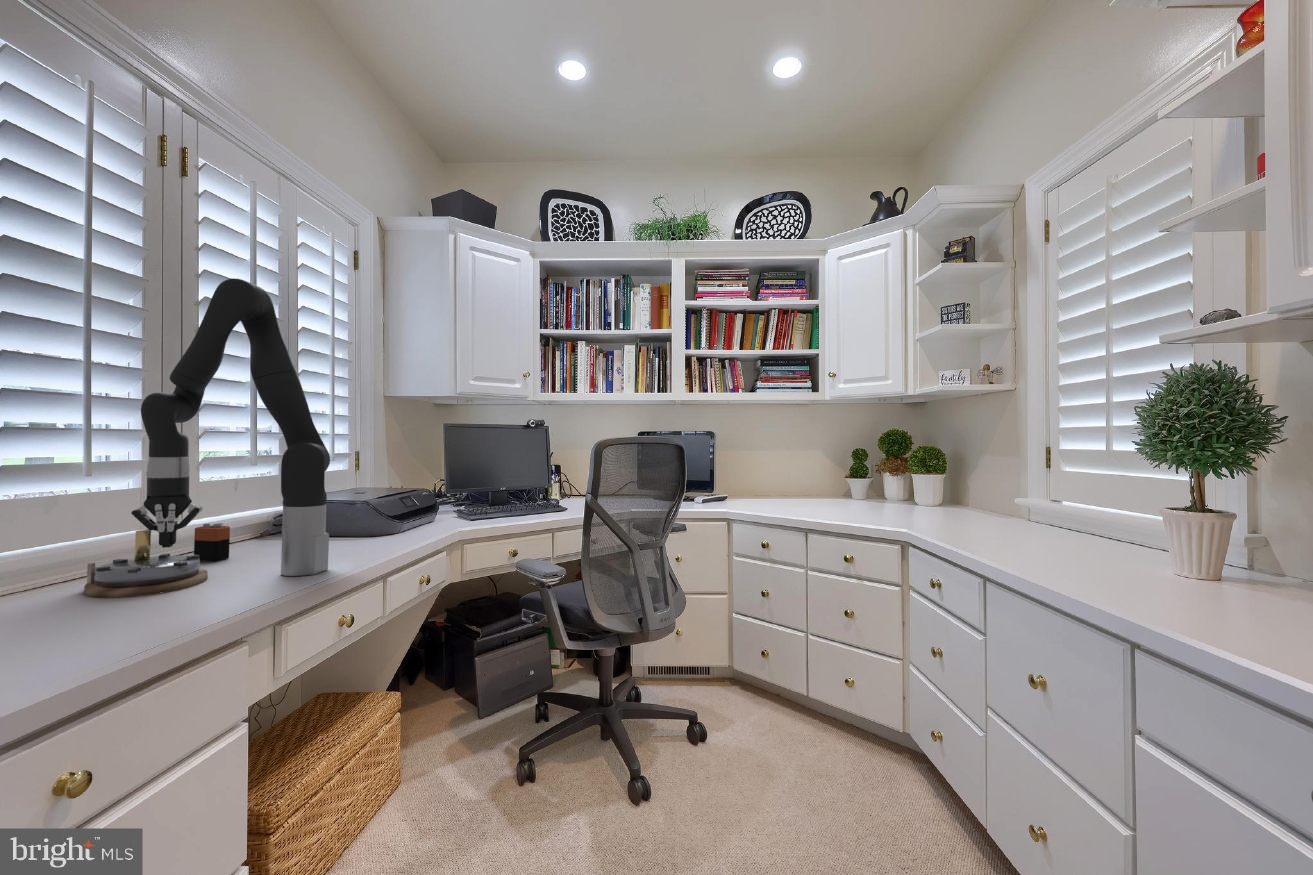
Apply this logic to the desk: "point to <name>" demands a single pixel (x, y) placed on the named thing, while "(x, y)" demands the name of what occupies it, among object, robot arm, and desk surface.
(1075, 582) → the desk surface
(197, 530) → the battery
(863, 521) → the desk surface
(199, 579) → the base plate
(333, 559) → the desk surface
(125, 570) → the studded grey disc
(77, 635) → the desk surface
